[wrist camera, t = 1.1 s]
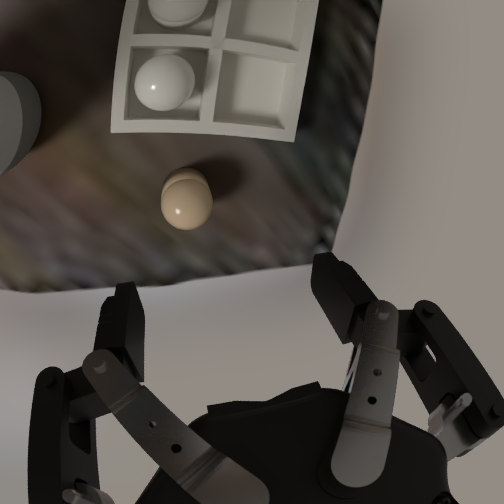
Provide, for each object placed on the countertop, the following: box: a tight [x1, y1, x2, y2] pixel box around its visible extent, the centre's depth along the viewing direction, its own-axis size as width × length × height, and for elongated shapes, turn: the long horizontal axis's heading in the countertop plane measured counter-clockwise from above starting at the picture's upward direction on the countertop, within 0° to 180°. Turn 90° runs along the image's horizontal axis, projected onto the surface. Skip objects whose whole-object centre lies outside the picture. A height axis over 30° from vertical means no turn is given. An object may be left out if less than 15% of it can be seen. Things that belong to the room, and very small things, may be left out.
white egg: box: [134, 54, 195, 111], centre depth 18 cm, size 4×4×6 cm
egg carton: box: [111, 0, 319, 142], centre depth 17 cm, size 15×22×3 cm
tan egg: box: [161, 168, 213, 230], centre depth 25 cm, size 4×4×6 cm
